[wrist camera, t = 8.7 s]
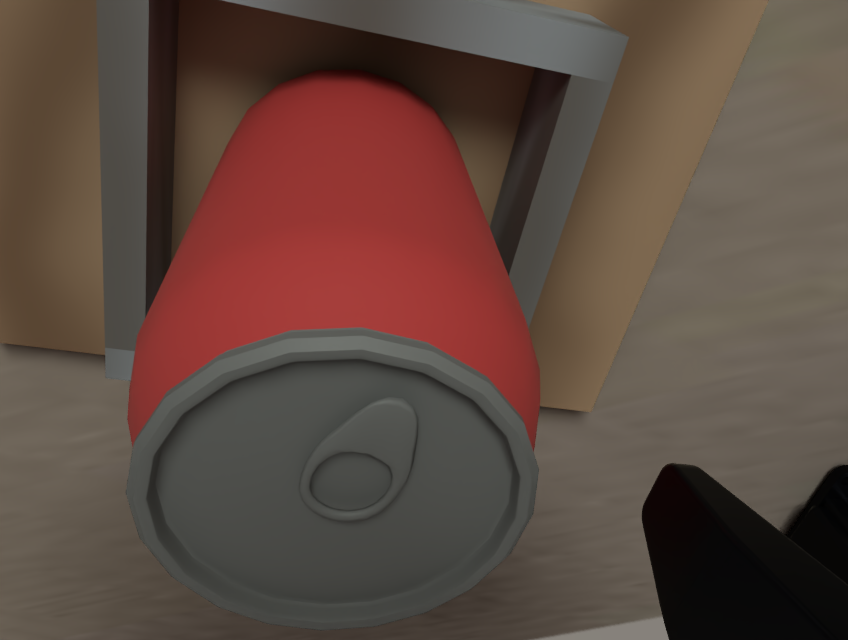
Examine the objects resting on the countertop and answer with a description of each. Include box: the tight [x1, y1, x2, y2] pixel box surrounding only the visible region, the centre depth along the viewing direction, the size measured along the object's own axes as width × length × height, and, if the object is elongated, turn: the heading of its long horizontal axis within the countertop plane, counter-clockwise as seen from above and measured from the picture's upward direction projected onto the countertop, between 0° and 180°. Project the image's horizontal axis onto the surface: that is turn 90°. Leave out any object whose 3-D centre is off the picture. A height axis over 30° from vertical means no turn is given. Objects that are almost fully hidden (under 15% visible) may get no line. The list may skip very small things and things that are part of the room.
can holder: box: [0, 0, 769, 412], centre depth 19 cm, size 20×14×4 cm
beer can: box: [126, 70, 540, 630], centre depth 15 cm, size 7×7×12 cm
